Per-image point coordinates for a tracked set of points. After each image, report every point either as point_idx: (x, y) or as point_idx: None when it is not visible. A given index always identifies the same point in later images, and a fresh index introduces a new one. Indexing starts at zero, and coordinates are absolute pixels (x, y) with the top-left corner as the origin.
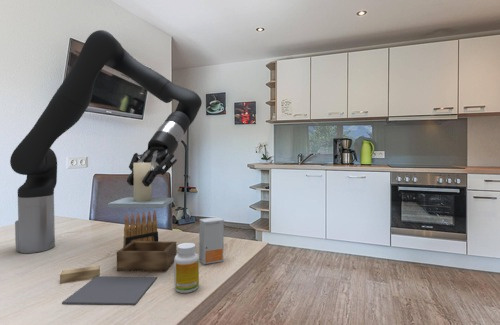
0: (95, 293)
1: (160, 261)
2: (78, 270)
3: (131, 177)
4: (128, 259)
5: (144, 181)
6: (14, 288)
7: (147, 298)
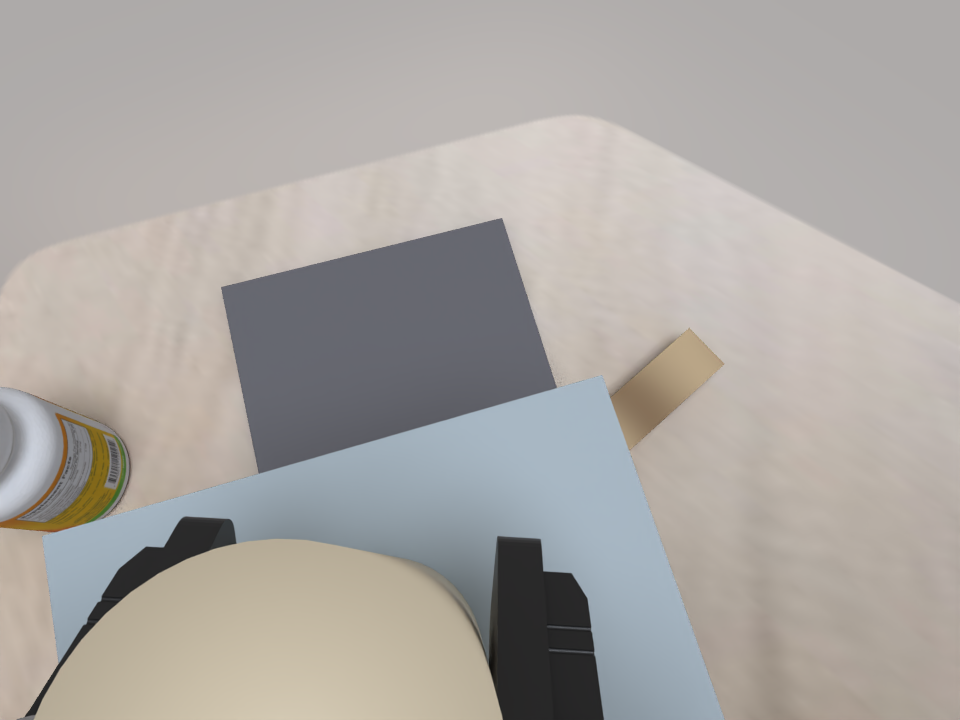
0: (433, 302)
1: None
2: (651, 388)
3: (496, 595)
4: None
5: (184, 521)
6: (810, 256)
7: (205, 345)
